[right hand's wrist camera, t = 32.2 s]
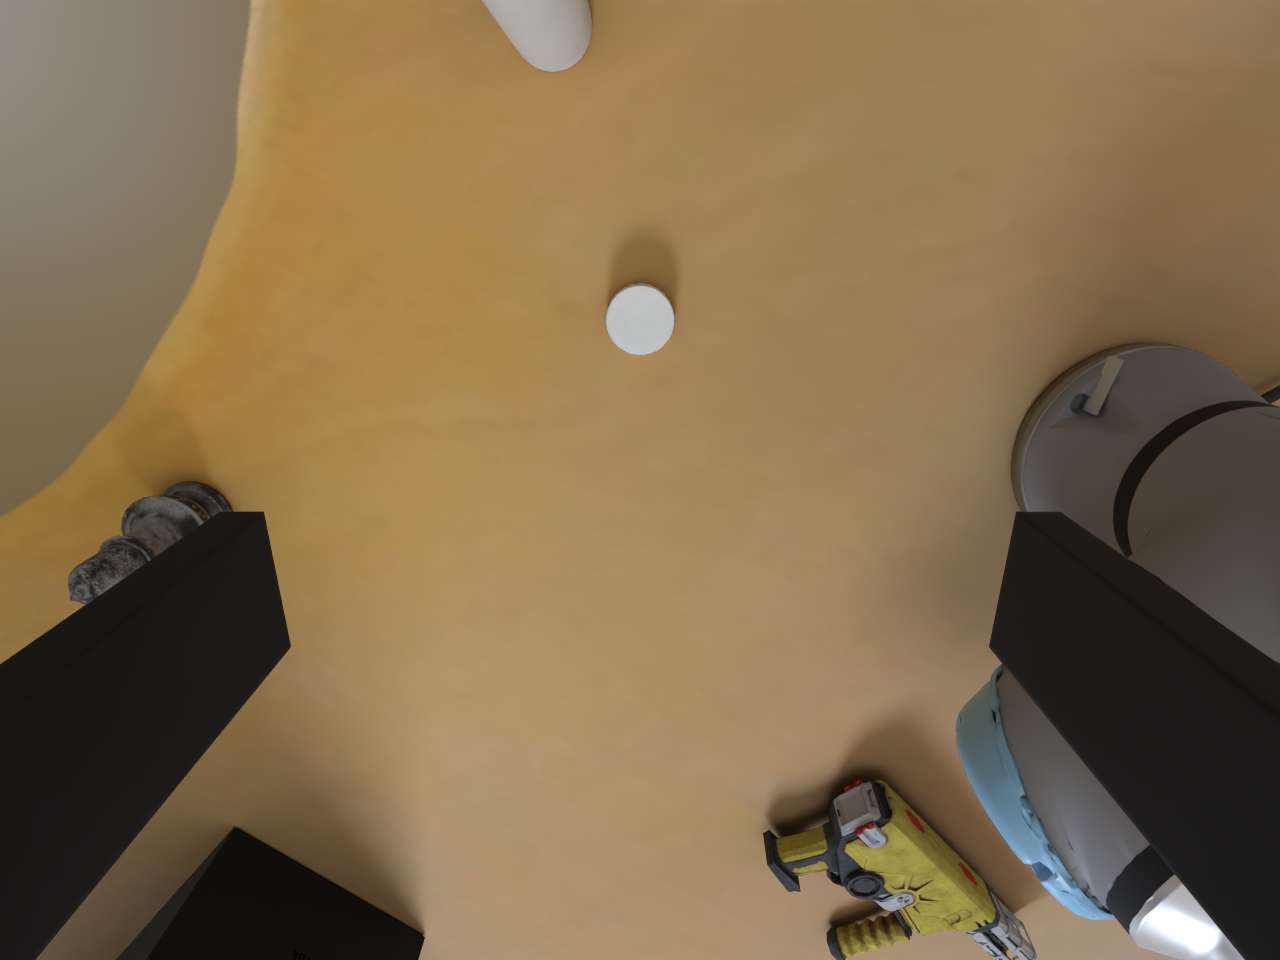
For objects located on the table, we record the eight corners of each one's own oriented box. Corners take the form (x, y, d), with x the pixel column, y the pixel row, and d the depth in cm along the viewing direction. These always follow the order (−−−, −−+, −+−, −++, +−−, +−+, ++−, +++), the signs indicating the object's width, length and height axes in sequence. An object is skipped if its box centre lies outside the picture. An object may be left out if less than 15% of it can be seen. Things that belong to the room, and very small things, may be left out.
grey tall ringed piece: (140, 519, 51) (-1, 604, 40) (179, 461, 50) (44, 533, 38) (212, 567, 52) (95, 662, 41) (253, 512, 51) (143, 595, 40)
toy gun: (894, 1022, 66) (1044, 964, 61) (734, 891, 58) (890, 813, 53) (881, 969, 70) (1019, 910, 65) (730, 840, 62) (874, 763, 58)
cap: (685, 301, 46) (687, 304, 44) (655, 361, 47) (656, 367, 46) (624, 270, 45) (623, 272, 44) (595, 332, 47) (594, 337, 45)
